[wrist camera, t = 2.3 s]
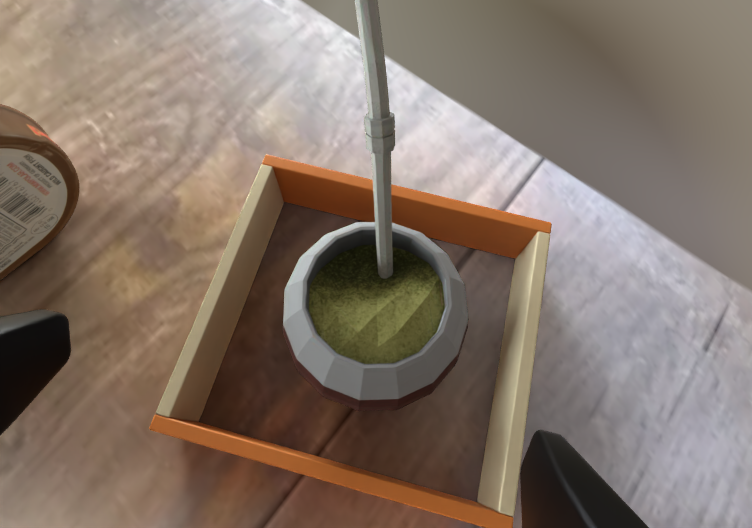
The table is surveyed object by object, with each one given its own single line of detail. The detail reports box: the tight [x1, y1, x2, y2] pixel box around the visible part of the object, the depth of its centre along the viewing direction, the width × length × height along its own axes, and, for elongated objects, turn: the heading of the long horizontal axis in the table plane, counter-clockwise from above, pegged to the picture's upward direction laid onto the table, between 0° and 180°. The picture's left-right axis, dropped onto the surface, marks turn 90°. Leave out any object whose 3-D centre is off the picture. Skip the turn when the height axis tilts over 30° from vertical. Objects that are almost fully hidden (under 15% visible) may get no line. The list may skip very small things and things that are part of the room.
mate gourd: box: [283, 0, 468, 411], centre depth 16 cm, size 8×8×15 cm
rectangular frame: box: [149, 155, 552, 528], centre depth 21 cm, size 13×14×4 cm
